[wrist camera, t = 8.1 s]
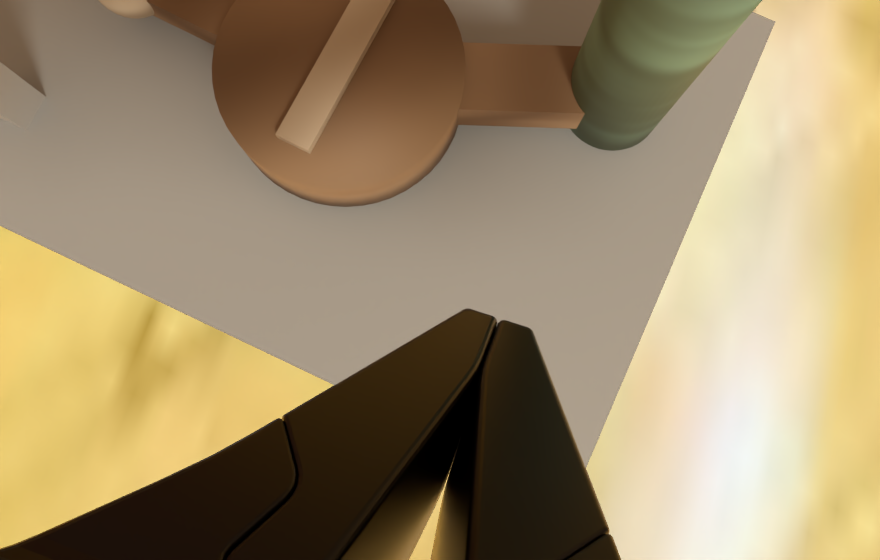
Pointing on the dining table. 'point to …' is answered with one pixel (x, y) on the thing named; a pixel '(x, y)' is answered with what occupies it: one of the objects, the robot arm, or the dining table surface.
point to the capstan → (429, 81)
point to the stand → (358, 227)
